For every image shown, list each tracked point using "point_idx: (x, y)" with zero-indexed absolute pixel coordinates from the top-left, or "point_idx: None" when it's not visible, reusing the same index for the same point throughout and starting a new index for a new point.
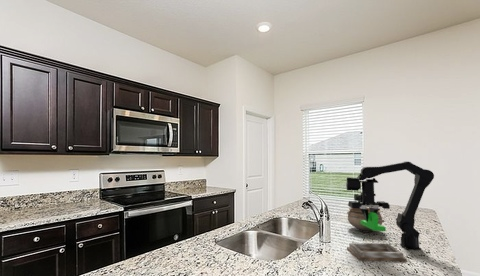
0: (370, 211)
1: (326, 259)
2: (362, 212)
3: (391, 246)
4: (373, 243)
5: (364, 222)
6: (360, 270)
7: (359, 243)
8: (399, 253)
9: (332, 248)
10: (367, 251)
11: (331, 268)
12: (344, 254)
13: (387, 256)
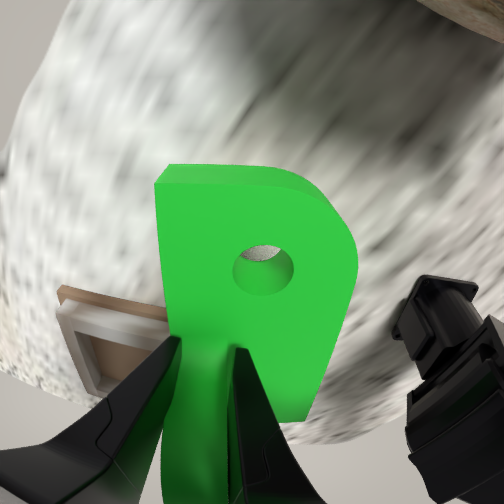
0: (241, 491)
1: (9, 338)
2: (74, 427)
3: None
4: None
5: (166, 290)
6: (85, 404)
7: (102, 329)
8: None
9: (12, 264)
10: (135, 353)
11: (27, 376)
12: (50, 326)
13: None
